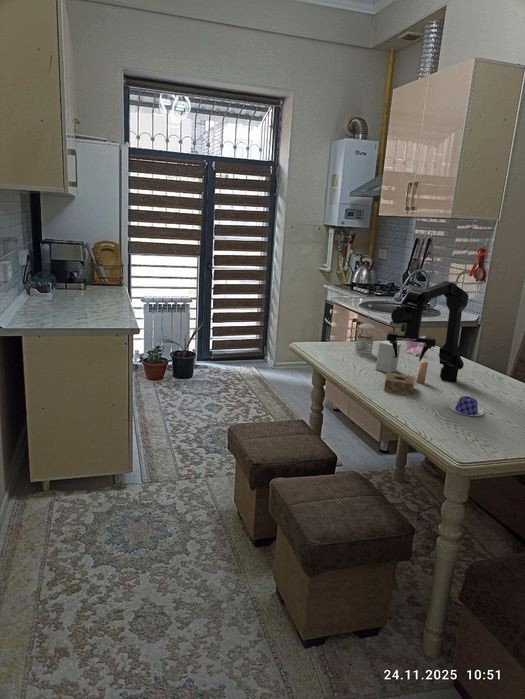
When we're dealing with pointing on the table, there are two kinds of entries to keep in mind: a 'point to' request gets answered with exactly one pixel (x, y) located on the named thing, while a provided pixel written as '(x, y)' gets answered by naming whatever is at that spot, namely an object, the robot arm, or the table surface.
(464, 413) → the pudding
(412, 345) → the lily
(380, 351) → the supplement box
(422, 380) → the pin
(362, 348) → the french press
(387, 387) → the bore block
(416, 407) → the table surface
